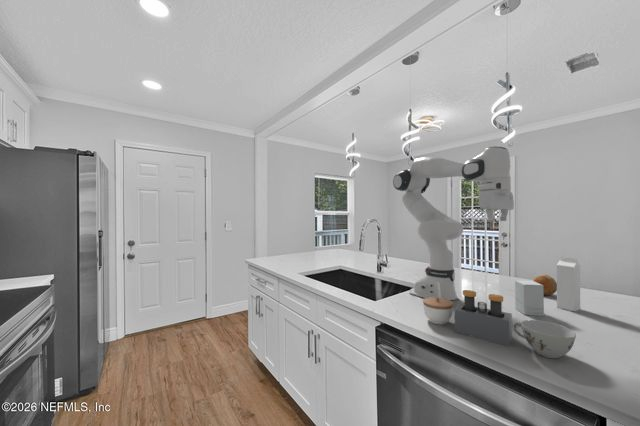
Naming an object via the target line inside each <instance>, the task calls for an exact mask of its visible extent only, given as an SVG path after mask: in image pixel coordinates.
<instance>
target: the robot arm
mask: <svg viewBox="0 0 640 426" xmlns="http://www.w3.org/2000/svg"><path fill="white" fill-rule="evenodd" d="M510 170H511V157H510V152H509V150H508V148H506V147H503V146H488V147H486V148H485V149H484V150H483V152H481V153H480V154H479V155H477V156H474V157H473V158H471V159H470V158H469V159H468V160H466V161H465V162H463V163H462V162H458V161H454V160H450V159H446V158H443V157H438V156H424V157H418V158H415V159H414V160H413V161H412V163H411V165H410V168H409V169H406V168H405V169H403V170H401V171H399V172H398V173H396V174H395V176H394V177H393V180H392V184H393V187H394V188H395V190H397V191H401V192H404V193H403V195H402V198H401V199H402V203H403V205H404V206H405V207H406V209H407V211H408V212H409V214H411V215H412V216H413V217H414V219H415V220H416V221H418V223H420V224H419V225H418V227H417V233H418V237H420V239H422V240H423V242H424V243H425V245H426V248H427V251H428V260H429V262H428V264H429V265H428V266H427V267H425V269H424V273H425V274H424V275H422V276H421V277H419V278H417V279H416V280H415V282H414V285H413V287H412V288H410V290H409V294H410V295H412V296H416V297H419V298H423V299H425V298H432V297H434V298H436V297H439V298H443V299H446V300H449V301H454V300H457V299H458V296H457V291H456V286H455V277H456V276H455V268H454V253H453V251H451V250H450V249H449V248H448V244H447V241H453V240H455V239H459V238H461V236H462V235H463V233H464V226H463V224H462V223H461V222H460V221H459V220H456V219H453V218H451V217H450V216H448V215H447V214H445V213H444V212H442V211H440V210H439V209H437V208H436V207H434V205H432V204H431V203H430V202H429V201H428V200H427V199H426V198H425V197H424V196H423V195H422V194H423V193H425V192H426V191H427V188H428V187H430V183H431V179H443V178H453V177H454V178H455V177H463V179H465V180H467V181H470V182H478V183H480V184H478V186H477V190H478V205H479V208H480V210H485V213H486V216H487V221H488V222H495V221H496V218H495V216H494V211H497V210H499V211H500V214H501V215H500V216H499V221H501V222H507V220H508V219H507V217H508V214H509V210H510V211H513V210H514V208H515V203H514V202H515V199H514V194H513V192H512V191H511V175H510Z"/></svg>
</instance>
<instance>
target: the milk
mask: <svg viewBox="0 0 640 426" xmlns="http://www.w3.org/2000/svg"><path fill="white" fill-rule="evenodd" d="M556 283H557V291H556V307H557V308H558V309H562V310H566V311H570V312H577V311H579V310H581V265H580V263H578V259H577V258H571V257H563V256H560V257H559V261H558V262H557V263H556Z"/></svg>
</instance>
